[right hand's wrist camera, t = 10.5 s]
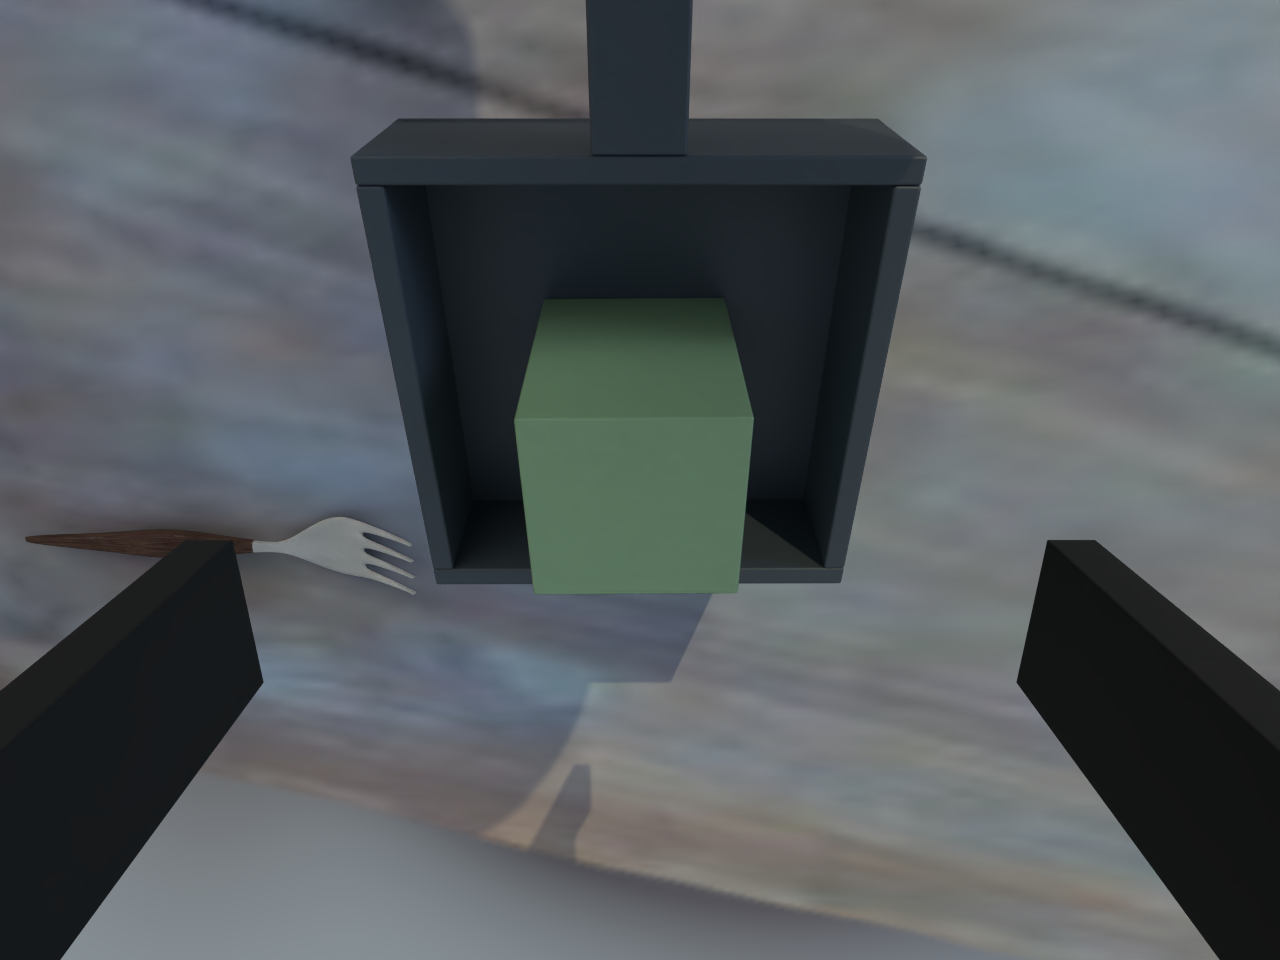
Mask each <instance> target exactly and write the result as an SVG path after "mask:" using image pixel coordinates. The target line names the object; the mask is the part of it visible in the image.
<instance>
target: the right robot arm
mask: <svg viewBox="0 0 1280 960" xmlns="http://www.w3.org/2000/svg"><path fill="white" fill-rule="evenodd" d="M262 684H263V678H262V673H261V669H260V664H259V660H258V655H257V650H256V646H255V641H254V637H253V632H252V628H251V623H250V618H249V614H248V609H247V605H246V600H245V595H244V591H243V586H242V582H241V577H240V572H239V568H238V563H237V559H236V554H235V549H234V545H233V540H185V541H183V542H182V543H181V544H180V545H178V546H177V547H176V548H175V549H174V550H172V551H171V552H170V553H169V554H167V555H166V556H165V557H164V558H163V559H161V560H160V561H159V562H158V563H156V564H155V565H154V566H153V567H152V568H150V569H149V570H148V571H147V572H145V573H144V574H143V575H142V576H141V577H139V578H138V579H137V580H136V581H134V582H133V583H132V584H131V585H130V586H128V587H127V588H126V589H125V590H123V591H122V592H121V593H120V594H118V595H117V596H116V597H115V598H114V599H112V600H111V601H110V602H109V603H107V604H106V605H105V606H104V607H103V608H101V609H100V610H99V611H98V612H96V613H95V614H94V615H93V616H92V617H90V618H89V619H88V620H87V621H85V622H84V623H83V624H82V625H81V626H79V627H78V628H77V629H76V630H74V631H73V632H72V633H71V634H70V635H68V636H67V637H66V638H65V639H63V640H62V641H61V642H60V643H58V644H57V645H56V646H55V647H54V648H52V649H51V650H50V651H49V652H47V653H46V654H45V655H44V656H43V657H41V658H40V659H39V660H38V661H36V662H35V663H34V664H33V665H32V666H30V667H29V668H28V669H27V670H25V671H24V672H23V673H22V674H21V675H19V676H18V677H17V678H16V679H14V680H13V681H12V682H11V683H10V684H8V685H7V686H6V687H5V688H3V689H2V690H1V691H0V960H60V959H61V958H62V957H63V955H64V954H65V953H66V951H67V950H68V949H69V947H70V946H71V944H72V943H73V942H74V940H75V939H76V938H77V936H78V935H79V934H80V932H81V931H82V929H83V928H84V927H85V925H86V924H87V923H88V921H89V920H90V918H91V917H92V916H93V914H94V913H95V912H96V910H97V909H98V908H99V906H100V905H101V903H102V902H103V901H104V899H105V898H106V897H107V895H108V894H109V893H110V891H111V890H112V888H113V887H114V886H115V884H116V883H117V882H118V880H119V879H120V878H121V876H122V875H123V873H124V872H125V871H126V869H127V868H128V867H129V865H130V864H131V863H132V861H133V860H134V858H135V857H136V856H137V854H138V853H139V852H140V850H141V849H142V848H143V846H144V845H145V843H146V842H147V841H148V839H149V838H150V836H151V835H152V834H153V833H154V831H155V830H156V828H157V827H158V826H159V824H160V823H161V822H162V820H163V819H164V817H165V816H166V815H167V813H168V812H169V811H170V809H171V808H172V807H173V805H174V804H175V802H176V801H177V800H178V798H179V797H180V796H181V794H182V793H183V792H184V790H185V789H186V787H187V786H188V785H189V783H190V782H191V781H192V779H193V778H194V777H195V775H196V774H197V772H198V771H199V770H200V768H201V767H202V766H203V764H204V763H205V762H206V760H207V759H208V757H209V756H210V755H211V753H212V752H213V751H214V749H215V748H216V747H217V745H218V744H219V742H220V741H221V740H222V738H223V737H224V736H225V734H226V733H227V732H228V730H229V729H230V727H231V726H232V725H233V723H234V722H235V721H236V719H237V718H238V717H239V715H240V714H241V712H242V711H243V710H244V708H245V707H246V706H247V704H248V703H249V701H250V700H251V699H252V697H253V696H254V695H255V693H256V692H257V691H258V689H259V688H260V686H261V685H262ZM1017 684H1018V685H1019V686H1020V688H1021V689H1022V691H1023V692H1024V693H1025V695H1026V696H1027V697H1028V699H1029V700H1030V701H1031V703H1032V704H1033V706H1034V707H1035V708H1036V710H1037V711H1038V712H1039V714H1040V715H1041V717H1042V718H1043V719H1044V721H1045V722H1046V723H1047V725H1048V726H1049V727H1050V729H1051V730H1052V732H1053V733H1054V734H1055V736H1056V737H1057V738H1058V740H1059V741H1060V742H1061V744H1062V745H1063V747H1064V748H1065V749H1066V751H1067V752H1068V753H1069V755H1070V756H1071V757H1072V759H1073V760H1074V762H1075V763H1076V764H1077V766H1078V767H1079V768H1080V770H1081V771H1082V772H1083V774H1084V775H1085V777H1086V778H1087V779H1088V781H1089V782H1090V783H1091V785H1092V786H1093V787H1094V789H1095V790H1096V792H1097V793H1098V794H1099V796H1100V797H1101V798H1102V800H1103V801H1104V802H1105V804H1106V805H1107V807H1108V808H1109V809H1110V811H1111V812H1112V813H1113V815H1114V816H1115V817H1116V819H1117V820H1118V822H1119V823H1120V824H1121V826H1122V827H1123V828H1124V830H1125V831H1126V833H1127V834H1128V835H1129V837H1130V838H1131V839H1132V841H1133V842H1134V843H1135V845H1136V846H1137V848H1138V849H1139V850H1140V852H1141V853H1142V854H1143V856H1144V857H1145V858H1146V860H1147V861H1148V863H1149V864H1150V865H1151V867H1152V868H1153V869H1154V871H1155V872H1156V873H1157V875H1158V876H1159V878H1160V879H1161V880H1162V882H1163V883H1164V884H1165V886H1166V887H1167V888H1168V890H1169V891H1170V893H1171V894H1172V895H1173V897H1174V898H1175V899H1176V901H1177V902H1178V903H1179V905H1180V906H1181V908H1182V909H1183V910H1184V912H1185V913H1186V914H1187V916H1188V917H1189V918H1190V920H1191V921H1192V923H1193V924H1194V925H1195V927H1196V928H1197V929H1198V931H1199V932H1200V934H1201V935H1202V936H1203V938H1204V939H1205V940H1206V942H1207V943H1208V944H1209V946H1210V947H1211V949H1212V950H1213V951H1214V953H1215V954H1216V955H1217V957H1218V958H1219V959H1220V960H1280V691H1279V690H1278V689H1277V688H1275V687H1274V686H1273V685H1272V684H1270V683H1269V682H1268V681H1267V680H1266V679H1264V678H1263V677H1262V676H1261V675H1259V674H1258V673H1257V672H1256V671H1255V670H1253V669H1252V668H1251V667H1250V666H1248V665H1247V664H1246V663H1245V662H1244V661H1242V660H1241V659H1240V658H1239V657H1237V656H1236V655H1235V654H1234V653H1233V652H1231V651H1230V650H1229V649H1228V648H1226V647H1225V646H1224V645H1223V644H1222V643H1220V642H1219V641H1218V640H1217V639H1215V638H1214V637H1213V636H1212V635H1210V634H1209V633H1208V632H1207V631H1206V630H1204V629H1203V628H1202V627H1201V626H1199V625H1198V624H1197V623H1196V622H1195V621H1193V620H1192V619H1191V618H1190V617H1188V616H1187V615H1186V614H1185V613H1184V612H1182V611H1181V610H1180V609H1179V608H1177V607H1176V606H1175V605H1174V604H1173V603H1171V602H1170V601H1169V600H1168V599H1166V598H1165V597H1164V596H1163V595H1162V594H1160V593H1159V592H1158V591H1157V590H1155V589H1154V588H1153V587H1152V586H1150V585H1149V584H1148V583H1147V582H1146V581H1144V580H1143V579H1142V578H1141V577H1139V576H1138V575H1137V574H1136V573H1135V572H1133V571H1132V570H1131V569H1130V568H1128V567H1127V566H1126V565H1125V564H1124V563H1122V562H1121V561H1120V560H1119V559H1117V558H1116V557H1115V556H1114V555H1113V554H1111V553H1110V552H1109V551H1108V550H1106V549H1105V548H1104V547H1103V546H1102V545H1100V544H1099V543H1098V542H1097V541H1095V540H1047V545H1046V549H1045V554H1044V559H1043V563H1042V568H1041V572H1040V577H1039V582H1038V586H1037V591H1036V595H1035V600H1034V605H1033V609H1032V614H1031V618H1030V623H1029V627H1028V632H1027V637H1026V641H1025V646H1024V650H1023V655H1022V660H1021V664H1020V669H1019V673H1018V678H1017Z"/></svg>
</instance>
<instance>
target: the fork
mask: <svg viewBox="0 0 1280 960" xmlns="http://www.w3.org/2000/svg"><path fill="white" fill-rule="evenodd" d="M365 532H366V533H371V534H374V535H378V536H381V537H384V538H387V539H391V540H394V541H397V542H400V543H402V544H405V545H407V546H409V547H411V546H412V545H413V544H412V543H410V542H408V541H406V540H404V539H402V538H400V537H397V536H395V535H393V534H391V533H388V532H386V531H384V530H381V529H379V528H376V527H374V526H371V525H368V524H366V523H363V522H360V521H357V520H354V519H351V518H346V517H333V518H328V519H325V520H322V521H320V522H318V523H316V524H314V525H312V526H310V527H309V528H307V529H305V530H304V531H302V532H300V533H299V534H297V535H295V536H293V537H292V538H289V539H287V540H284V541H279V542H266V541H257V540H250V539H243V538H236V537H229V536H222V535H215V534H208V533H200V532H192V531H183V530H165V529H164V530H139V531H125V532H110V533H88V534H60V535H40V536H29V537H25V539H26V541H27V542H30V543H36V544H43V545H51V546H60V547H69V548H79V549H89V550H98V551H107V552H115V553H123V554H132V555H140V556H149V557H163V558H164V557H165V556H166V555H167V554H169V553H170V552H171V551H172V550H174V549H175V548H176V547H177V546H178V545H180V544H181V543H182V542H183V541H185V540H233V545H234V549H235V554H241V553H255V552H279V553H285V554H289V555H293V556H296V557H299V558H301V559H304V560H307V561H309V562H312V563H314V564H317V565H320V566H322V567H325V568H328V569H331V570H334V571H337V572H340V573H344V574H349V575H354V576H359V577H364V578H369V579H373V580H376V581H379V582H382V583H385V584H388V585H391V586H393V587H396V588H399V589H401V590H404V591H406V592H409V593H411V594H412V595H415V594H416V591H414V590H412V589H410V588H408V587H406V586H404V585H402V584H400V583H398V582H396V581H394V580H392V579H389V578H387V577H385V576H383V575H380V574H378V573H376V572H374V571H371V570H370V569H368V568H367V567H366V564H372V565H376V566H379V567H382V568H385V569H388V570H391V571H394V572H396V573H399V574H402V575H404V576H407V577H409V578H412V579H413V578H415V576H414V575H412V574H410V573H408V572H406V571H404V570H402V569H400V568H398V567H396V566H394V565H391V564H389V563H387V562H385V561H382V560H380V559H378V558H375V557H373V556H371V555H369V554H367V553H366V552H365V551H364V549H365V548H368V549H373V550H376V551H379V552H383V553H386V554H389V555H392V556H395V557H397V558H400V559H403V560H406V561H408V562H414V560H413V559H411V558H409V557H407V556H405V555H403V554H401V553H398V552H396V551H394V550H392V549H390V548H387V547H385V546H383V545H380V544H378V543H375V542H373V541H371V540H369V539H367V538H365V537H364V536H363V533H365Z"/></svg>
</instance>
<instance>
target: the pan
mask: <svg viewBox="0 0 1280 960" xmlns="http://www.w3.org/2000/svg"><path fill="white" fill-rule="evenodd" d="M692 5H693V0H586V19H587V49H588V79H589V109H590V119H397V120H396V121H395V122H394V123H392V124H391V125H390V126H389V127H388V128H386V129H385V130H384V131H383V132H381V133H380V134H379V135H378V136H376V137H375V138H374V139H372V140H371V141H370V142H369V143H367V144H366V145H365V146H364V147H362V148H361V149H360V150H359V151H357V152H356V153H355V154H354V155H352V156H351V164H352V169H353V174H354V179H355V182H356V184H357V185H358V186H357V193H358V198H359V203H360V208H361V213H362V218H363V223H364V228H365V233H366V238H367V243H368V248H369V252H370V257H371V262H372V267H373V272H374V277H375V282H376V287H377V292H378V297H379V302H380V307H381V312H382V317H383V321H384V326H385V331H386V336H387V341H388V346H389V351H390V356H391V361H392V366H393V371H394V376H395V381H396V386H397V390H398V395H399V400H400V405H401V410H402V415H403V420H404V425H405V430H406V435H407V440H408V445H409V450H410V455H411V459H412V464H413V469H414V474H415V479H416V484H417V489H418V494H419V499H420V504H421V509H422V514H423V519H424V524H425V528H426V533H427V538H428V543H429V548H430V553H431V558H432V563H433V567H434V573H435V578H436V582H437V584H533V582H532V573H531V564H530V555H529V547H528V538H527V529H526V521H525V512H524V503H523V494H522V486H521V477H520V468H519V460H518V451H517V442H516V433H515V425H514V418H515V414H516V410H517V406H518V402H519V398H520V394H521V390H522V386H523V382H524V378H525V374H526V370H527V366H528V362H529V358H530V354H531V350H532V346H533V342H534V338H535V334H536V330H537V326H538V322H539V317H540V313H541V309H542V305H543V301H544V299H633V298H724V299H725V302H726V306H727V310H728V314H729V318H730V323H731V327H732V331H733V335H734V339H735V343H736V347H737V351H738V356H739V360H740V364H741V368H742V372H743V376H744V380H745V384H746V388H747V393H748V397H749V401H750V405H751V409H752V413H753V417H754V423H753V433H752V444H751V455H750V466H749V477H748V487H747V498H746V509H745V520H744V531H743V542H742V552H741V563H740V574H739V583H840V582H841V579H842V574H843V567H844V564H845V559H846V554H847V549H848V544H849V539H850V534H851V529H852V525H853V520H854V515H855V510H856V505H857V500H858V495H859V490H860V485H861V480H862V475H863V470H864V466H865V461H866V456H867V451H868V446H869V441H870V436H871V431H872V426H873V421H874V416H875V411H876V406H877V402H878V397H879V392H880V387H881V382H882V377H883V372H884V367H885V362H886V357H887V352H888V347H889V343H890V338H891V333H892V328H893V323H894V318H895V313H896V308H897V303H898V298H899V293H900V288H901V284H902V279H903V274H904V269H905V264H906V259H907V254H908V249H909V244H910V239H911V234H912V229H913V225H914V220H915V215H916V210H917V205H918V200H919V195H920V190H921V188H920V186H919V185H920V184H921V183H922V180H923V175H924V170H925V165H926V161H927V158H926V156H925V155H924V154H922V153H921V152H920V151H918V150H917V149H916V148H915V147H913V146H912V145H911V144H909V143H908V142H907V141H906V140H904V139H903V138H902V137H900V136H899V135H898V134H897V133H895V132H894V131H893V130H891V129H890V128H889V127H887V126H886V125H885V124H884V123H883V122H881V121H880V120H879V119H689V92H690V63H691V34H692Z"/></svg>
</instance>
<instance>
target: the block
mask: <svg viewBox="0 0 1280 960" xmlns="http://www.w3.org/2000/svg"><path fill="white" fill-rule="evenodd" d="M753 423H754V417H753V413H752V409H751V405H750V401H749V397H748V393H747V388H746V384H745V380H744V376H743V372H742V368H741V364H740V360H739V356H738V351H737V347H736V343H735V339H734V335H733V331H732V327H731V323H730V318H729V314H728V310H727V306H726V302H725V299H724V298H633V299H544V301H543V305H542V309H541V313H540V317H539V322H538V326H537V330H536V334H535V338H534V342H533V346H532V350H531V354H530V358H529V362H528V366H527V370H526V374H525V378H524V382H523V386H522V390H521V394H520V398H519V402H518V406H517V410H516V414H515V418H514V425H515V433H516V442H517V451H518V460H519V468H520V477H521V486H522V494H523V503H524V512H525V521H526V529H527V538H528V547H529V555H530V564H531V573H532V582H533V590H534V594H673V593H737V592H738V585H739V574H740V563H741V552H742V542H743V531H744V520H745V509H746V498H747V487H748V477H749V466H750V455H751V444H752V433H753Z"/></svg>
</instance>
